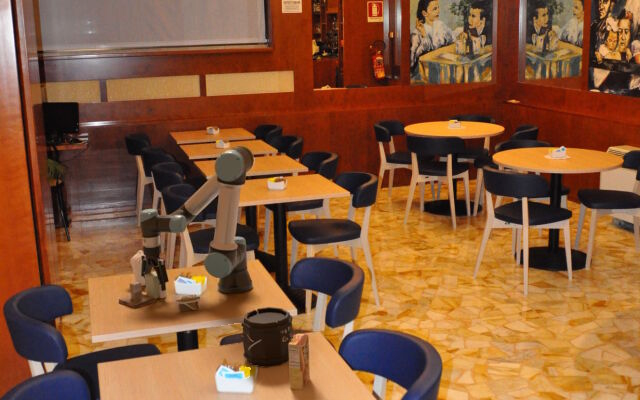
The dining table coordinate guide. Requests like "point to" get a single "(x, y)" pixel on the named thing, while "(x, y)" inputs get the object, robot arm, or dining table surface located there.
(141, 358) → the dining table surface
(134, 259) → the soft serve ice cream cone
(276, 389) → the dining table surface
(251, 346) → the wooden barrel
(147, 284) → the sage cap
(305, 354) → the candy box
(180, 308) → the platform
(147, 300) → the post base
